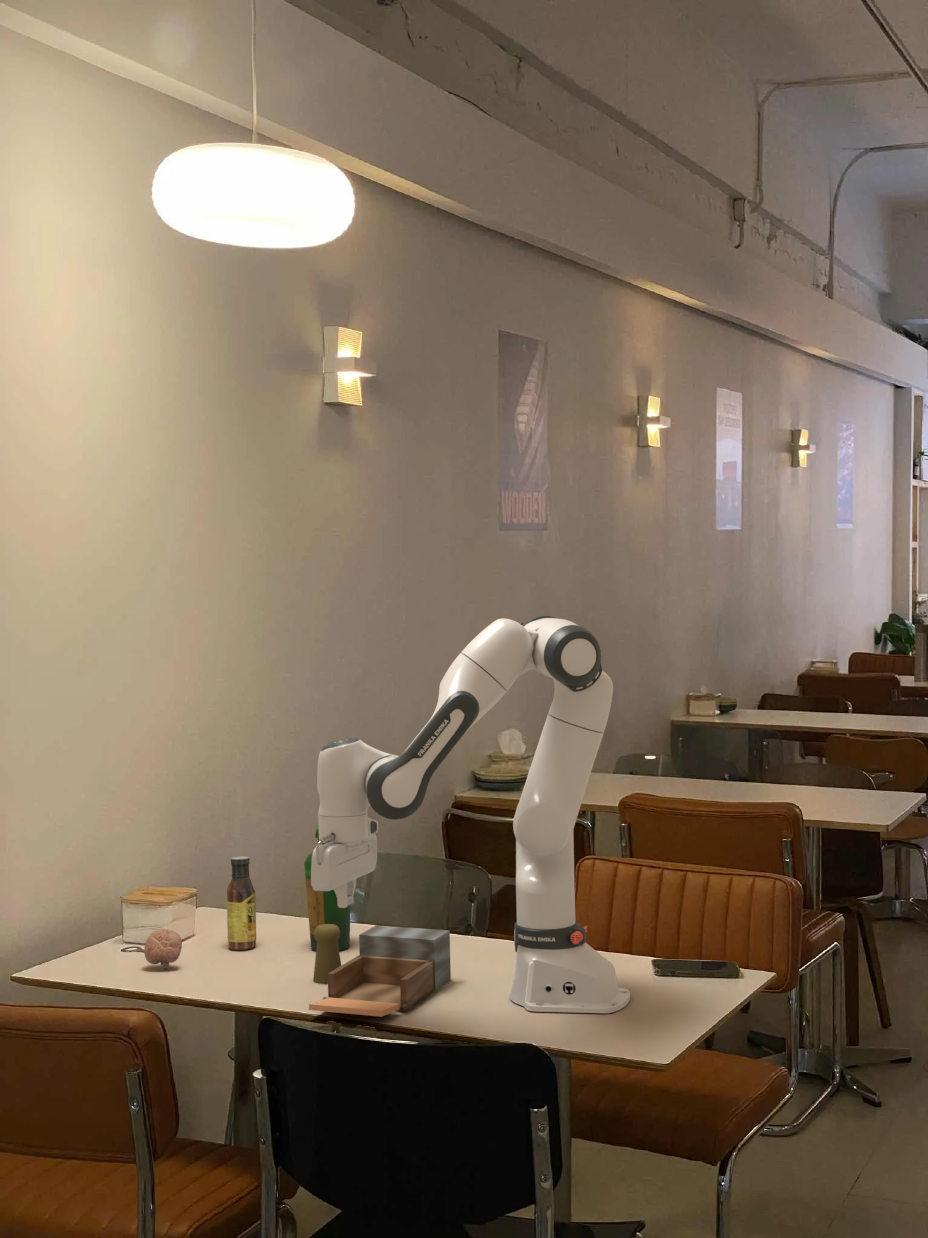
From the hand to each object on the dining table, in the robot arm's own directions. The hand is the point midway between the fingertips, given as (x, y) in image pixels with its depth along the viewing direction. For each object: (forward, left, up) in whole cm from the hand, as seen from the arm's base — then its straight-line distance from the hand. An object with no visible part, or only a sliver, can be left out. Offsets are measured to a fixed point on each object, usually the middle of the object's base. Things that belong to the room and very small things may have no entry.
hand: (345, 906), depth 250 cm
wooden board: (0, -7, -20) cm, 21 cm away
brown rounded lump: (+53, -22, -21) cm, 61 cm away
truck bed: (0, -18, -21) cm, 28 cm away
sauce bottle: (+46, -42, -21) cm, 66 cm away
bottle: (+27, -47, -21) cm, 58 cm away
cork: (+16, -24, -21) cm, 36 cm away
